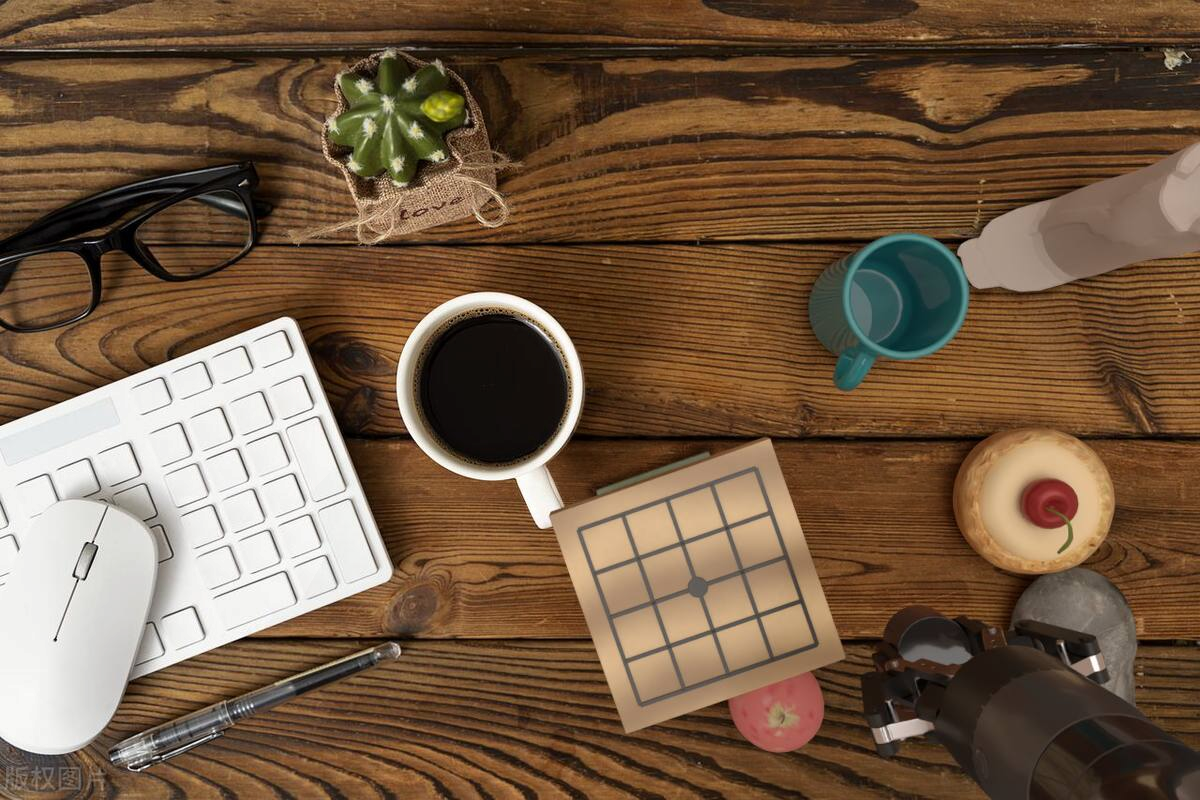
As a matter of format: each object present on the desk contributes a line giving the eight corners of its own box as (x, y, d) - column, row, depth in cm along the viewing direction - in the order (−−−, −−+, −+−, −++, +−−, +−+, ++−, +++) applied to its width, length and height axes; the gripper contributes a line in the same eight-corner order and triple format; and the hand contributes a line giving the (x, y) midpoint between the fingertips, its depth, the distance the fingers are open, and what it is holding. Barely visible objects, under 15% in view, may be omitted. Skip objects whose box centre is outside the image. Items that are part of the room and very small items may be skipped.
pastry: (1062, 408, 72) (1126, 412, 63) (1098, 542, 72) (1167, 565, 63) (924, 446, 72) (968, 456, 63) (960, 580, 73) (1010, 608, 64)
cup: (773, 366, 72) (804, 364, 61) (834, 237, 72) (876, 211, 61) (870, 411, 72) (918, 418, 61) (931, 282, 72) (991, 264, 61)
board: (776, 575, 73) (847, 659, 51) (620, 629, 73) (626, 735, 51) (722, 420, 72) (770, 438, 51) (566, 474, 73) (548, 515, 51)
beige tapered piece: (949, 228, 72) (1081, 170, 52) (1109, 181, 72) (1304, 105, 52) (972, 310, 72) (1113, 284, 52) (1132, 264, 72) (1335, 220, 52)
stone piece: (963, 661, 58) (982, 676, 55) (896, 684, 58) (911, 700, 55) (940, 595, 58) (958, 606, 55) (873, 617, 58) (887, 630, 55)
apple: (756, 744, 73) (775, 789, 65) (706, 674, 73) (718, 711, 65) (827, 693, 73) (854, 732, 65) (776, 624, 73) (797, 654, 65)
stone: (1002, 559, 72) (990, 723, 75) (1019, 577, 68) (1006, 749, 71) (1140, 563, 71) (1123, 730, 73) (1166, 582, 67) (1147, 757, 69)
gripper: (936, 874, 40) (839, 730, 57) (1226, 777, 40) (1042, 661, 57) (884, 725, 40) (803, 625, 57) (1175, 626, 40) (1006, 555, 57)
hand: (923, 643), depth 57 cm, fingers closed on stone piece, 4 cm apart
